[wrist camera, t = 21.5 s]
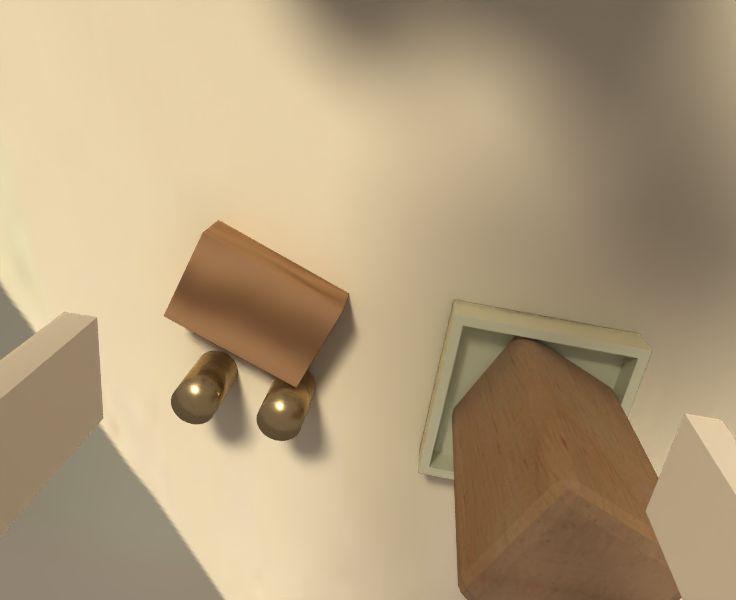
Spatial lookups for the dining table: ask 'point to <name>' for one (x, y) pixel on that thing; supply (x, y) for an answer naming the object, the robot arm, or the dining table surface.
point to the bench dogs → (215, 379)
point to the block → (552, 487)
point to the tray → (489, 338)
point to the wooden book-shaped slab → (255, 303)
